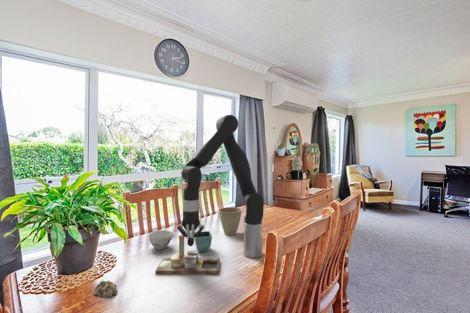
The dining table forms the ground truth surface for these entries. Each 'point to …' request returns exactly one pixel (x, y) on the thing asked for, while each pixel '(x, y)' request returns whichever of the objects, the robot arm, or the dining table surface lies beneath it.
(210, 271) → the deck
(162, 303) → the dining table surface
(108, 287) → the mineral rock
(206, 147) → the robot arm
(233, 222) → the plant pot
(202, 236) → the flower pot
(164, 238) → the grey stone bowl
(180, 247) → the beige post stand
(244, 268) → the dining table surface
